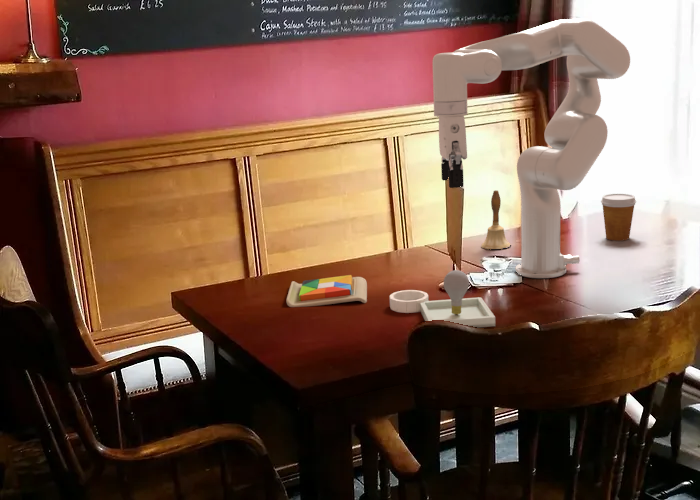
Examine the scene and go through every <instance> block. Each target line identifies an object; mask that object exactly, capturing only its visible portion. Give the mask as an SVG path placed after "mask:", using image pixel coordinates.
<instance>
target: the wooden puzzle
mask: <svg viewBox="0 0 700 500" xmlns="http://www.w3.org/2000/svg"><path fill="white" fill-rule="evenodd" d="M287 293H288V294H287V296H286V305H287V306H288V307H290V308H300V307H301V308H302V307H317V306H325V305H326V306H327V305H332V304H333V305H335V304H341V303H349V302H361V303H363V304H366V303H367V302H368V299H367V298H368V283H367V280H366V279H365V278H364V277H362V276H352V274H348V275H340V276H333V277H325V278H324V277H323V278H316V279H315V278H314V279H307V280H303V281H302V283H298V282H296V281H293V280H292V281H291V283H290V286H289V289H288V292H287Z"/></svg>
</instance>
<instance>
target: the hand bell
mask: <svg viewBox="0 0 700 500" xmlns="http://www.w3.org/2000/svg"><path fill="white" fill-rule="evenodd" d="M490 205H491V211H492V224H491V226H489V227H488V228H487V233H486V238H485V239H484V241H483V242H482V243H481V245H480V247H481V248H482V249H484V250H489V249H490V251H491V249H501V250H503V249H502V248H506V247H509V246H510V245H511V243H510V242H509V241H508V239H507V238H506V235H505V229H504V227H503V226H501V225H500V224H499V223H500V219H499V218H500V215H499V214H500V213H499V212H500V209H501V205H502V204H501V196H500V194H499V190H493V193H492V195H491V203H490Z"/></svg>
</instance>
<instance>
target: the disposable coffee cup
mask: <svg viewBox="0 0 700 500" xmlns="http://www.w3.org/2000/svg"><path fill="white" fill-rule="evenodd" d="M600 203H601V205H602V212H603V213H602V214H603V221H604V230H605V231H604V232H605V238H606V240H610V241H616V242H617V241H618V242H620V241H627V240H629V239H630V235H631V229H632V223H633V217H634V210H635V205H636V203H637V201H636V198H635V196H634V195H632V194H628V193H609V194H604V195H603V196H602V199H601V200H600Z"/></svg>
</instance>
